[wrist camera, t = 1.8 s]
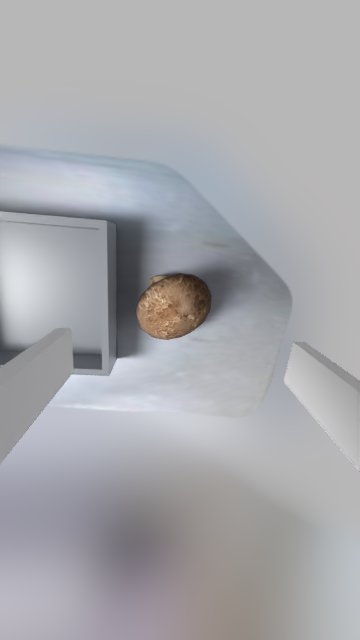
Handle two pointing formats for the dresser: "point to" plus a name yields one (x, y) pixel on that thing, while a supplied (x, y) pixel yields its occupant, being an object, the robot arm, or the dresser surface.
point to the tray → (59, 286)
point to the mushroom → (173, 306)
